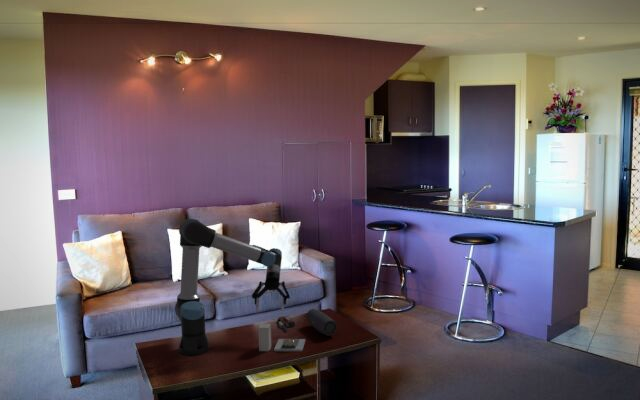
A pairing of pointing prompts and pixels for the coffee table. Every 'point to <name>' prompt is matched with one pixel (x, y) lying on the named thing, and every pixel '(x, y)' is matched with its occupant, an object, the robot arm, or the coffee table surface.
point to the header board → (297, 342)
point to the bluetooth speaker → (321, 322)
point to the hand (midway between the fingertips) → (269, 310)
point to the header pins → (288, 344)
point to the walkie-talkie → (285, 322)
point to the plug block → (264, 337)
